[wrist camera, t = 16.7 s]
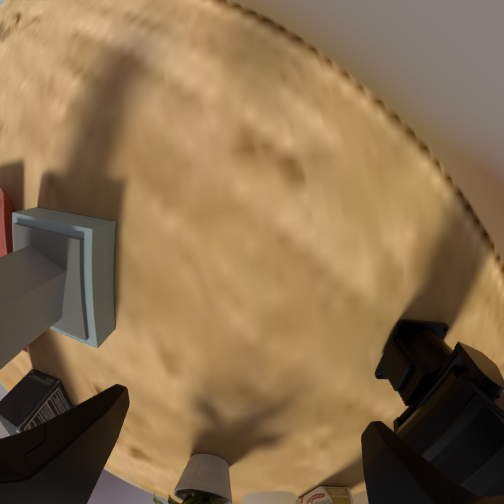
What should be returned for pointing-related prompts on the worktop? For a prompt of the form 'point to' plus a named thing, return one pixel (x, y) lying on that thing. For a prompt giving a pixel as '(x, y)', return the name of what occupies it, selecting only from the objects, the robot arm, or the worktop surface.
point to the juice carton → (327, 496)
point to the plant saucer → (6, 229)
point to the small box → (33, 402)
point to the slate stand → (75, 267)
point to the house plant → (203, 482)
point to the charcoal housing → (28, 299)
